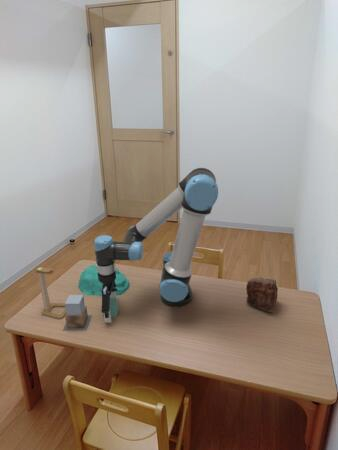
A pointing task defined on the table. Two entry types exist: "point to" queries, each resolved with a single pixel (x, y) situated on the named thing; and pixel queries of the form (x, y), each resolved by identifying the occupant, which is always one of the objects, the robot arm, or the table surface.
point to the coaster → (79, 328)
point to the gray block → (74, 305)
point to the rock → (262, 293)
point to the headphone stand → (47, 304)
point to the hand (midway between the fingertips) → (111, 312)
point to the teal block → (113, 307)
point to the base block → (77, 320)
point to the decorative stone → (94, 286)
